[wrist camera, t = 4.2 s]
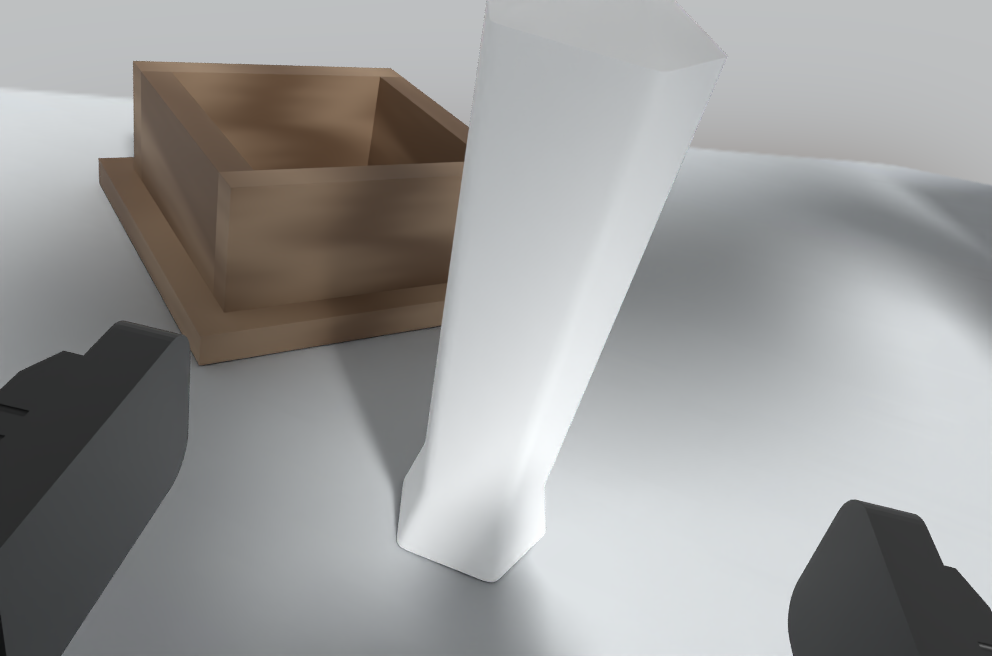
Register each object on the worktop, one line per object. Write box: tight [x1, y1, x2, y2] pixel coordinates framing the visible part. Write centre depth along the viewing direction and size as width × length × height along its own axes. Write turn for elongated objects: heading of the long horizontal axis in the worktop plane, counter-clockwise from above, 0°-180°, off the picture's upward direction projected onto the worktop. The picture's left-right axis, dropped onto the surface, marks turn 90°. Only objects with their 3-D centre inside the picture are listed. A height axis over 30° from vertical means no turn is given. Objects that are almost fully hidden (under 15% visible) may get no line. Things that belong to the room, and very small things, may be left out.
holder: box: [99, 61, 469, 366], centre depth 30 cm, size 12×12×5 cm
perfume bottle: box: [397, 0, 728, 582], centre depth 18 cm, size 5×4×15 cm
